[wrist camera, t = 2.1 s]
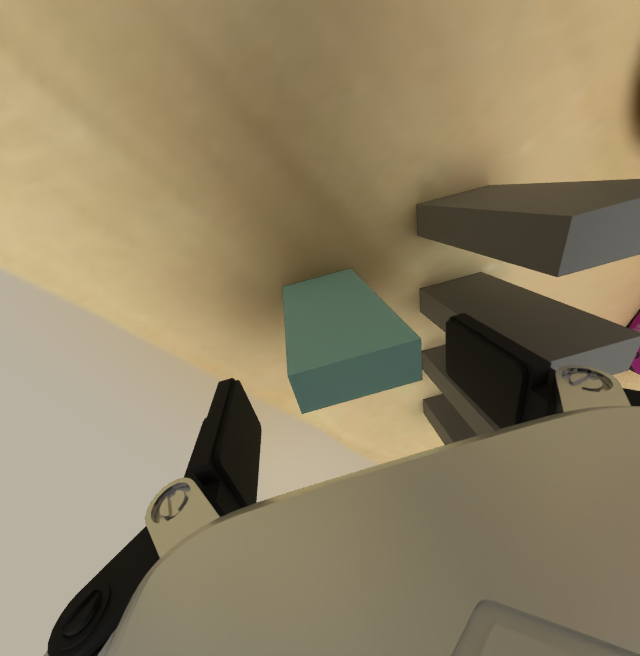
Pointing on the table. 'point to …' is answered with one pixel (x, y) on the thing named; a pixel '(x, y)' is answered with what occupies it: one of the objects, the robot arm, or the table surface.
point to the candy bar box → (639, 360)
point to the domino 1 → (345, 342)
